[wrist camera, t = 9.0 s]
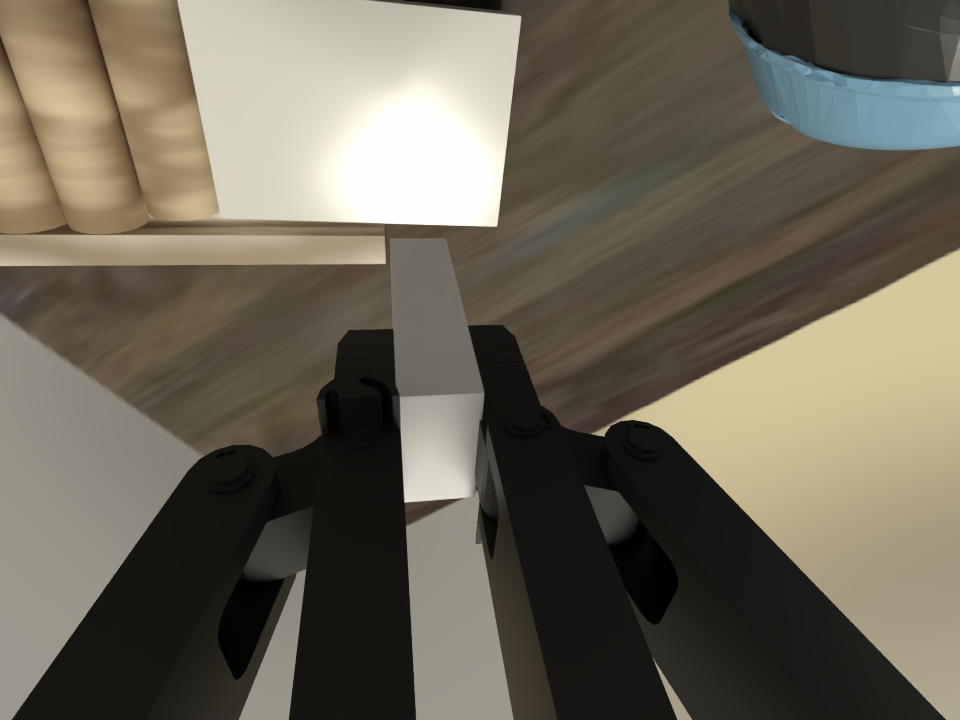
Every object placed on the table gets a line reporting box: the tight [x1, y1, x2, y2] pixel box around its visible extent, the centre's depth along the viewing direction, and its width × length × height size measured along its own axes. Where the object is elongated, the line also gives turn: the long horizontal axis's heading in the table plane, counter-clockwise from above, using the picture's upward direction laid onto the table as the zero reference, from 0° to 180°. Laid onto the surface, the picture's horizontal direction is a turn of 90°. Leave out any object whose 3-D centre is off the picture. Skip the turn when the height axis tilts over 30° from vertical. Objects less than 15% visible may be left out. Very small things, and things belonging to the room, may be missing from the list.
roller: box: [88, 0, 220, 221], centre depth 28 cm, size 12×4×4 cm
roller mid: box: [0, 0, 149, 234], centre depth 27 cm, size 12×4×4 cm, turn 174°
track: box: [0, 212, 386, 266], centre depth 26 cm, size 18×26×10 cm
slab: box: [177, 0, 521, 227], centre depth 30 cm, size 11×16×4 cm
